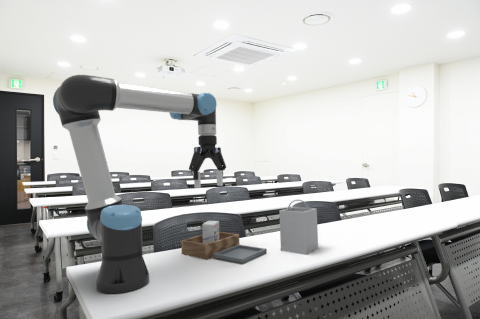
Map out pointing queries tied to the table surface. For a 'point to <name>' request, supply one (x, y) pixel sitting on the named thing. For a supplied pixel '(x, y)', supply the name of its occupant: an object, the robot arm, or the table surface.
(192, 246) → the crate
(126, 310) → the table surface
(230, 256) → the tray
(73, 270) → the table surface
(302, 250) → the caddy
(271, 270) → the table surface
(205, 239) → the ink box
